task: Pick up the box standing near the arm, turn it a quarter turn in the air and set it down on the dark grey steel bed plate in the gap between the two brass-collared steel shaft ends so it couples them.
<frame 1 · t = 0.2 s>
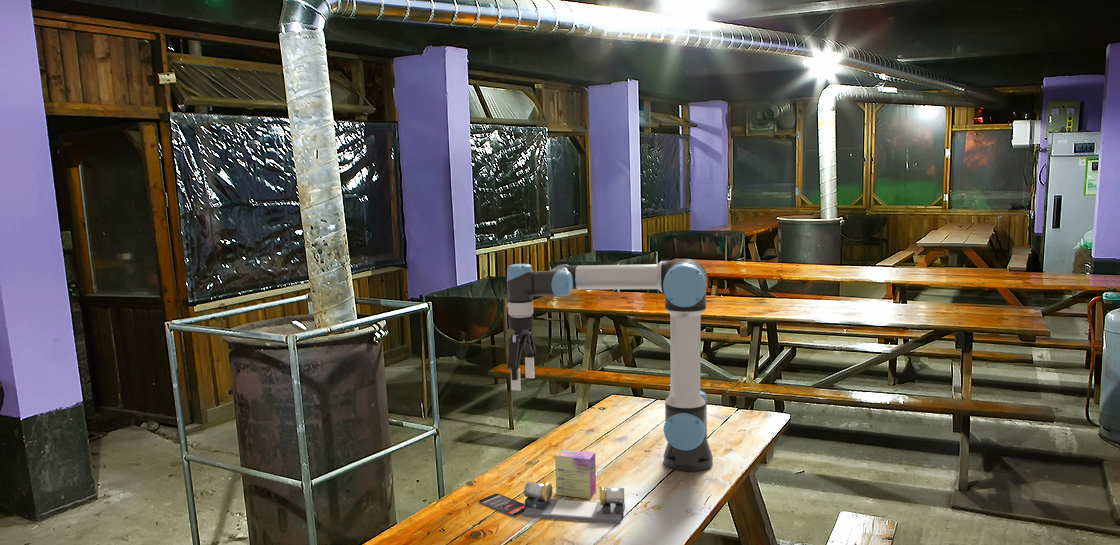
hand: (523, 383, 232), 28 cm above the table, fingers open, 13 cm apart
smartphone: (504, 507, 211), on the table
shaft a: (600, 513, 204), resting on bed
box: (576, 494, 218), on the table
shaft b: (549, 510, 207), resting on bed
bed: (574, 511, 206), on the table
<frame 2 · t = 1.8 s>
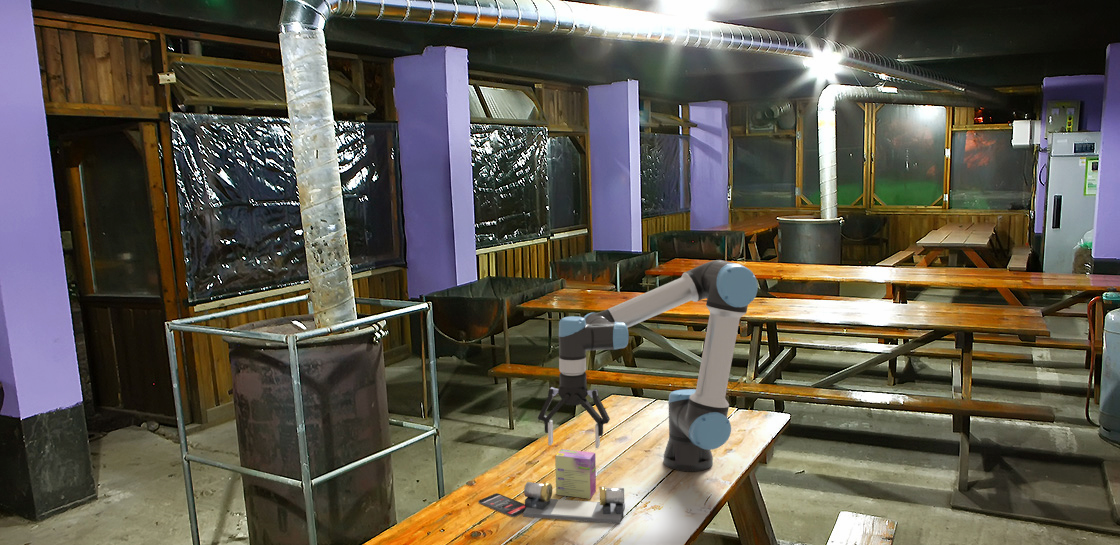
hand: (574, 445, 216), 14 cm above the table, fingers open, 13 cm apart
nothing on the table moved.
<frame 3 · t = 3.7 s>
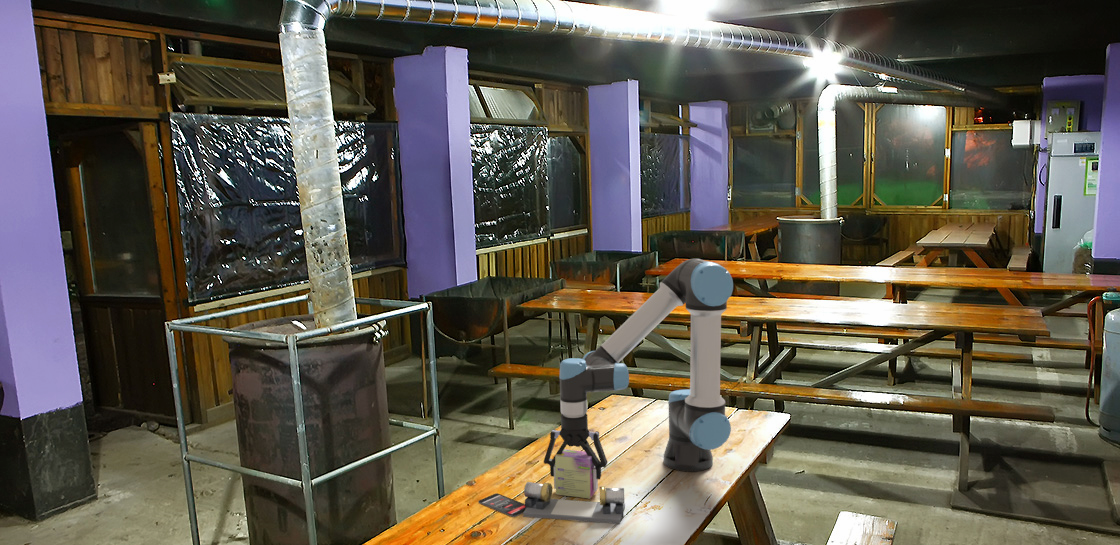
hand: (576, 488, 218), 1 cm above the table, fingers closed on box, 11 cm apart
box: (576, 493, 218), on the table, touching gripper
everything else where it was.
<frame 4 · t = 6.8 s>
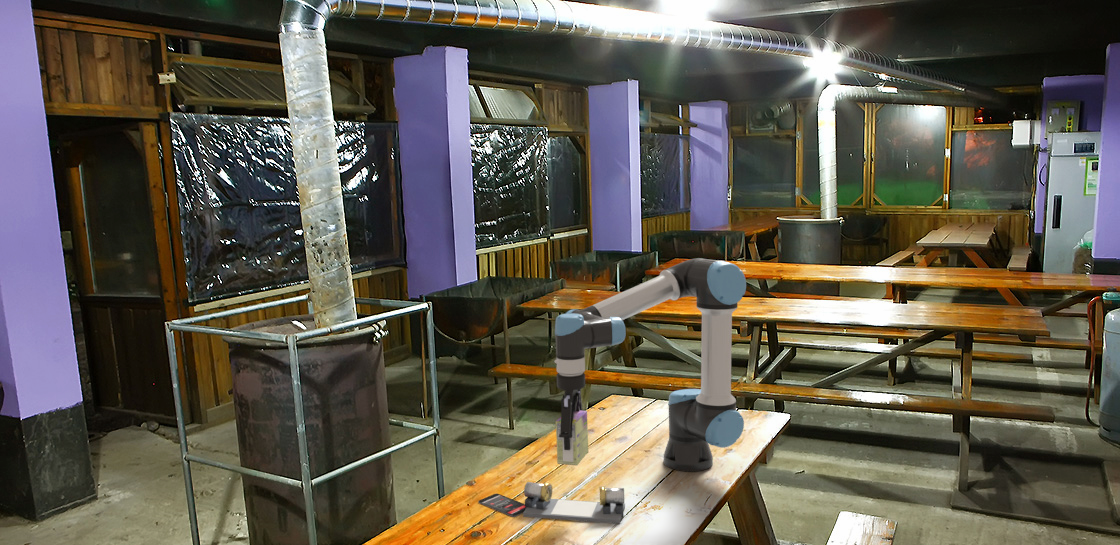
hand: (572, 452, 204), 17 cm above the table, fingers closed on box, 11 cm apart
box: (572, 459, 204), point 15 cm above the table, touching gripper
everything else where it was.
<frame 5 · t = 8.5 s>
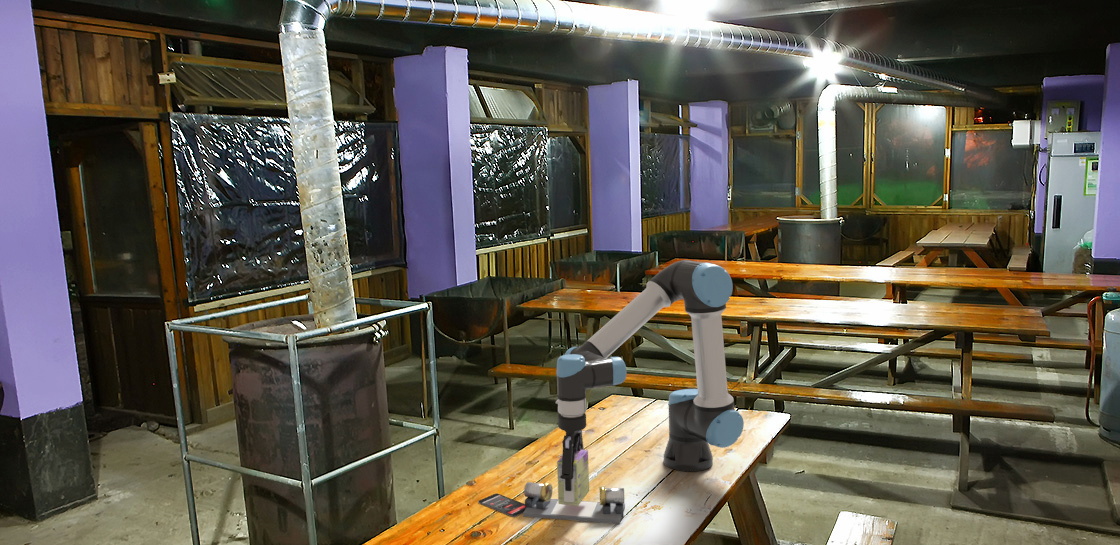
hand: (573, 492, 205), 6 cm above the table, fingers closed on box, 11 cm apart
box: (573, 498, 205), point 4 cm above the table, touching gripper
everything else where it was.
when the fingers open (4 cm above the table, at t = 9.9 s): box drops 1 cm, resting on bed.
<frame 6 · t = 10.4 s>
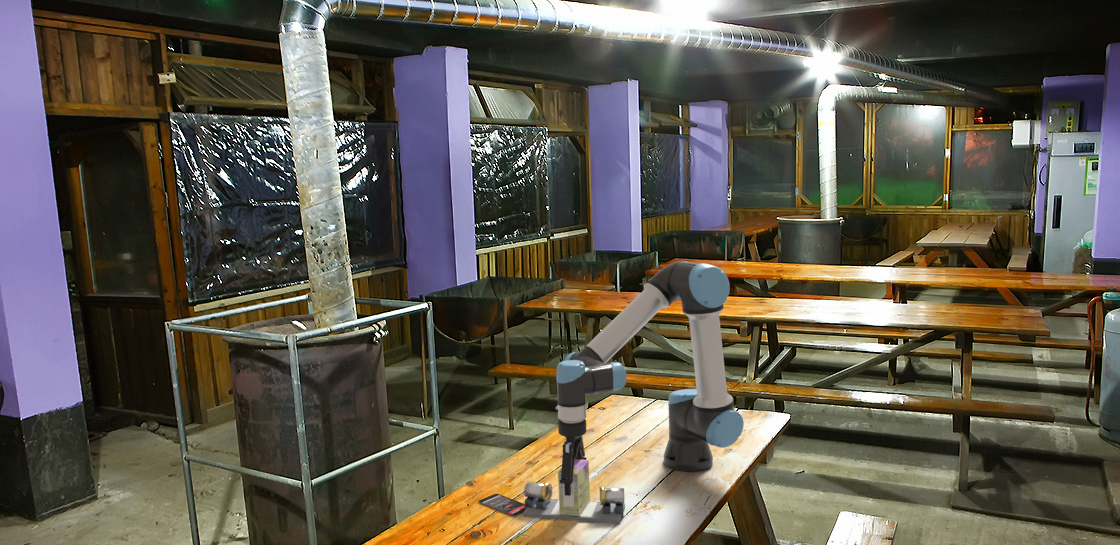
hand: (574, 495, 205), 5 cm above the table, fingers open, 13 cm apart
box: (574, 508, 206), point 1 cm above the table, touching bed
everything else where it was.
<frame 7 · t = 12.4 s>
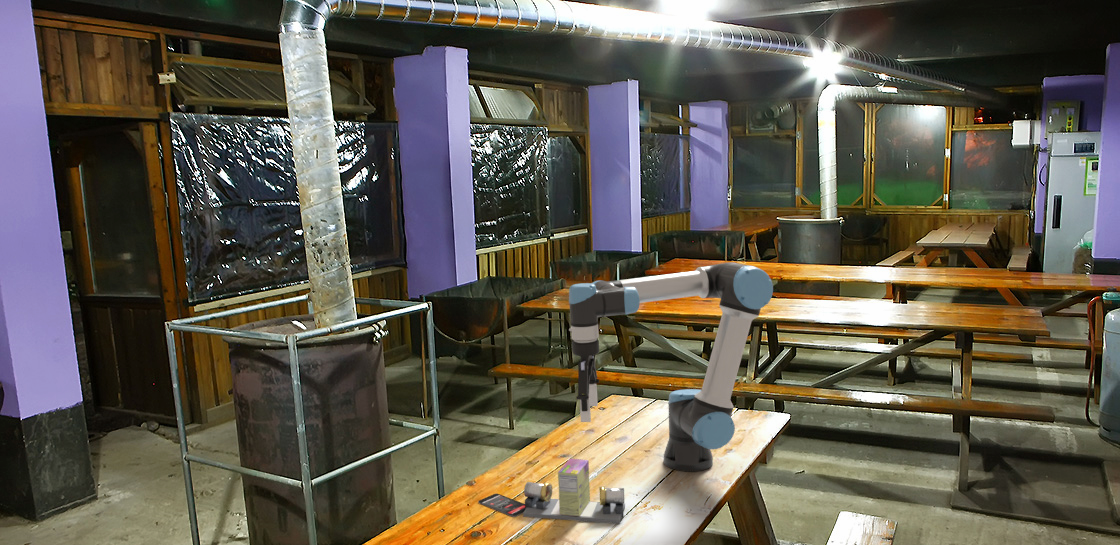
hand: (589, 413, 214), 24 cm above the table, fingers open, 13 cm apart
nothing on the table moved.
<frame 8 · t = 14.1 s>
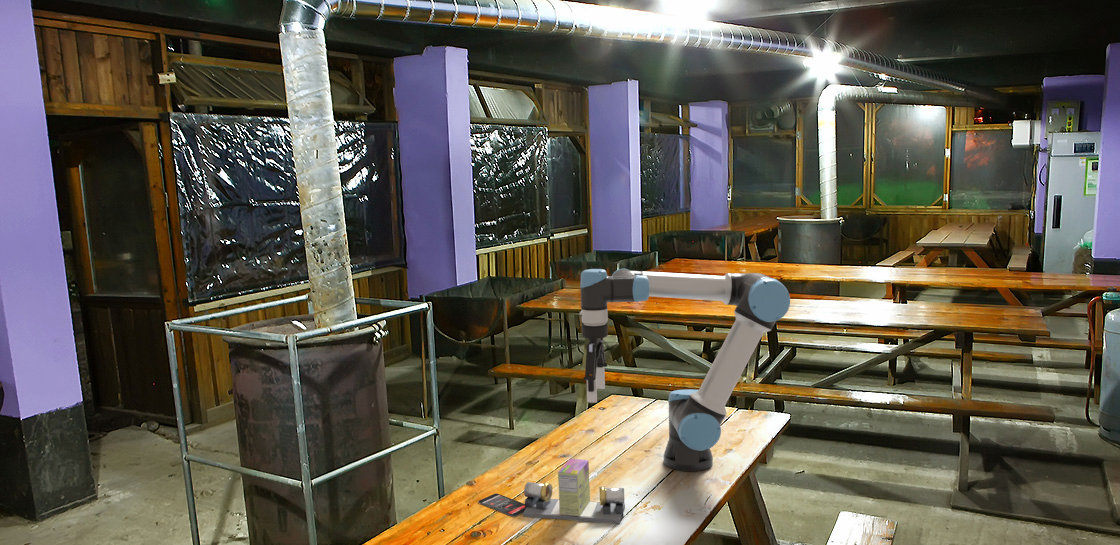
hand: (596, 395, 221), 27 cm above the table, fingers open, 13 cm apart
nothing on the table moved.
at the end: box inside the target area (0.2 cm from its centre), point 0.9 cm above the table; box tilted 0°; the gripper is holding nothing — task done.
